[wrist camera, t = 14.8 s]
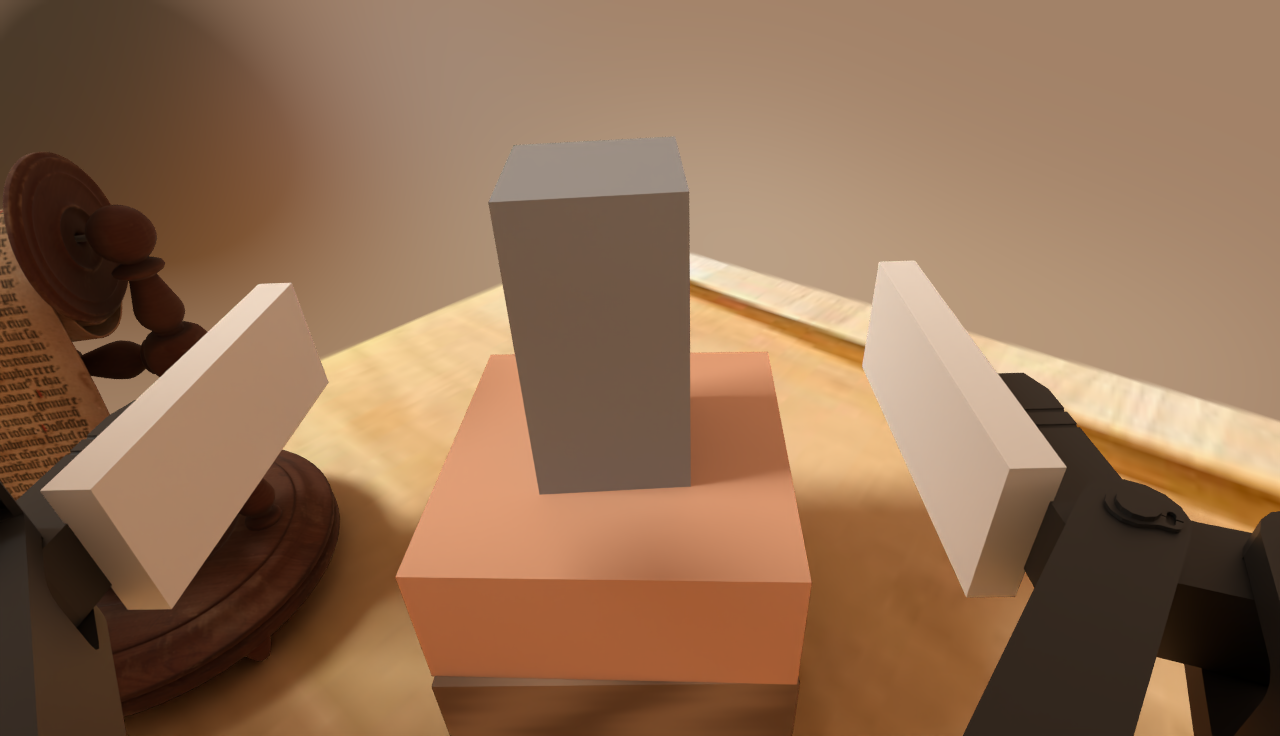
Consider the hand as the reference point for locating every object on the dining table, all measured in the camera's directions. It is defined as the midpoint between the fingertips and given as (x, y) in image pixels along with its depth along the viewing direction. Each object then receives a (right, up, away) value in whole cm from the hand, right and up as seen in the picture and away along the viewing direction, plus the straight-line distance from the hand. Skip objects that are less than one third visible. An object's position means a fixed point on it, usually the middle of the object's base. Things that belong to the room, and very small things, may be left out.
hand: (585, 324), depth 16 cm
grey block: (0, -4, +9) cm, 10 cm away
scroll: (-20, -12, +17) cm, 29 cm away
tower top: (+1, -8, +12) cm, 14 cm away
